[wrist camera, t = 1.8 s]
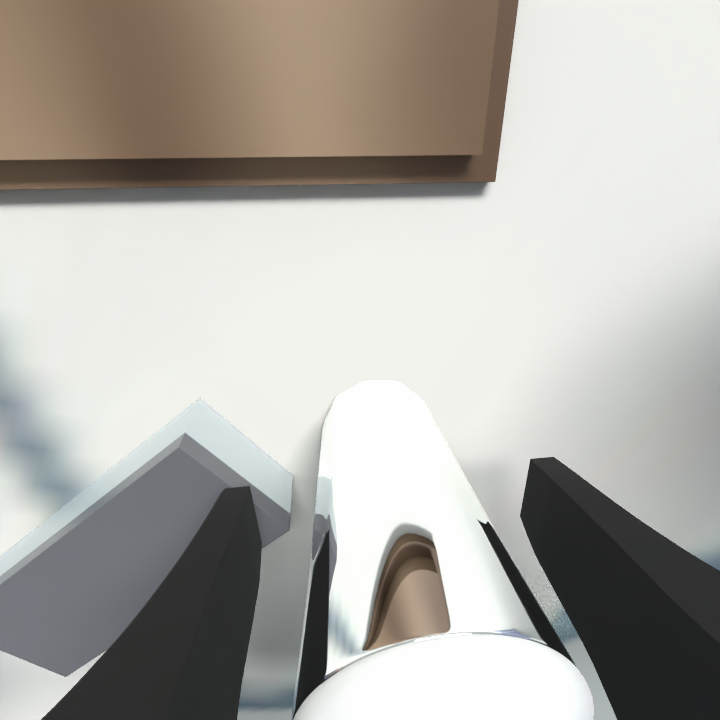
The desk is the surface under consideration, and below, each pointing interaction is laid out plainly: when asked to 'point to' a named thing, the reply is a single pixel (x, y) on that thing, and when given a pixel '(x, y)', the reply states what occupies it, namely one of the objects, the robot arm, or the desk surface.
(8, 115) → the plinth
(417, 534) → the milkshake
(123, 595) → the block
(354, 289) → the desk surface
